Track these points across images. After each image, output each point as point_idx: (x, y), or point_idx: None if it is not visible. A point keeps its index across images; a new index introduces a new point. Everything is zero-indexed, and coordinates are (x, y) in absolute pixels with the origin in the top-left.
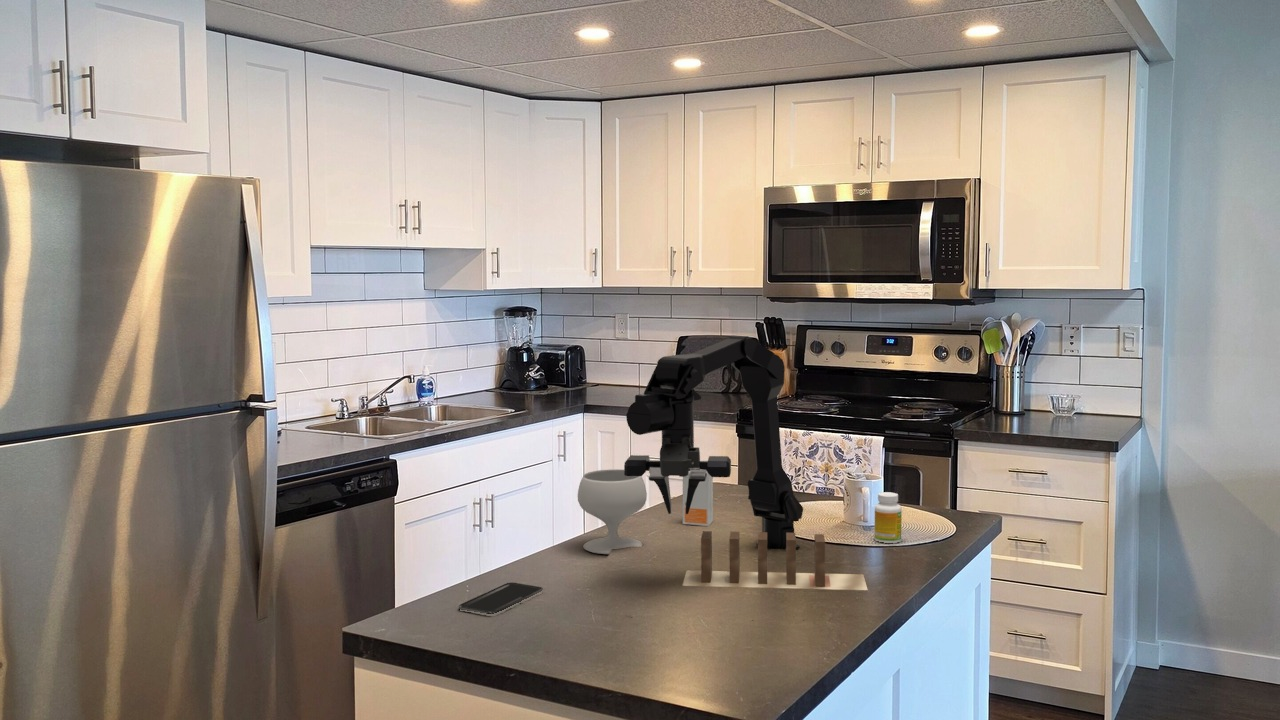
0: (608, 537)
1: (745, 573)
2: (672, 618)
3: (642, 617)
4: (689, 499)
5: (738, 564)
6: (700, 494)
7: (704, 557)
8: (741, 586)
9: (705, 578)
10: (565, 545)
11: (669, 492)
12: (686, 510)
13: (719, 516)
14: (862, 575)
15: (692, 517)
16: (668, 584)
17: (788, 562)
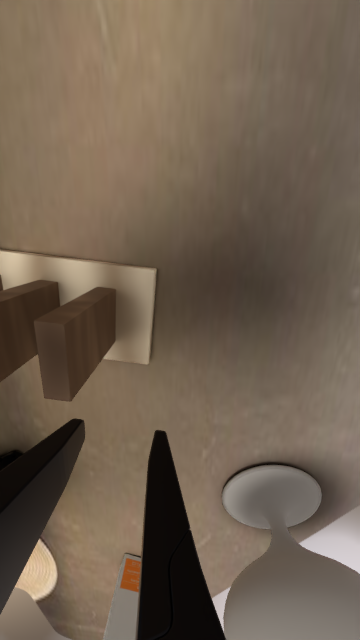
0: (284, 513)
1: None
2: (179, 43)
3: (258, 52)
4: (5, 481)
5: (8, 289)
6: (122, 627)
7: (83, 303)
8: (30, 258)
9: (103, 290)
10: (346, 511)
11: (139, 585)
12: (71, 430)
13: (113, 579)
14: None
15: None
16: (184, 312)
17: None
